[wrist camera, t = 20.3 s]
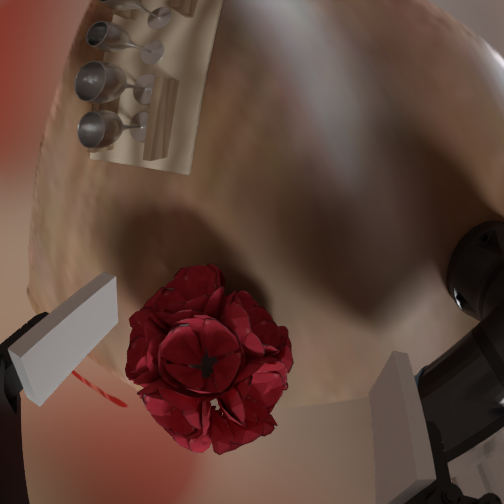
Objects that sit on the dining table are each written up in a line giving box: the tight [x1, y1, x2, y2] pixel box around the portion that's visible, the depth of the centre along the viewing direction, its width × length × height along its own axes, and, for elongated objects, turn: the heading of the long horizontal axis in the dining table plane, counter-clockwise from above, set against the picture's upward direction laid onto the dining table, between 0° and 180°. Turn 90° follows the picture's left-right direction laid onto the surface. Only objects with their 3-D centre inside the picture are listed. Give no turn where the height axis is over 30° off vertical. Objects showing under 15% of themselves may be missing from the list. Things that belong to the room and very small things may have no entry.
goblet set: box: [75, 0, 171, 149], centre depth 31 cm, size 28×6×13 cm, turn 172°
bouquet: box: [125, 264, 294, 455], centre depth 42 cm, size 22×24×30 cm
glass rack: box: [88, 0, 224, 175], centre depth 35 cm, size 18×36×6 cm, turn 169°
